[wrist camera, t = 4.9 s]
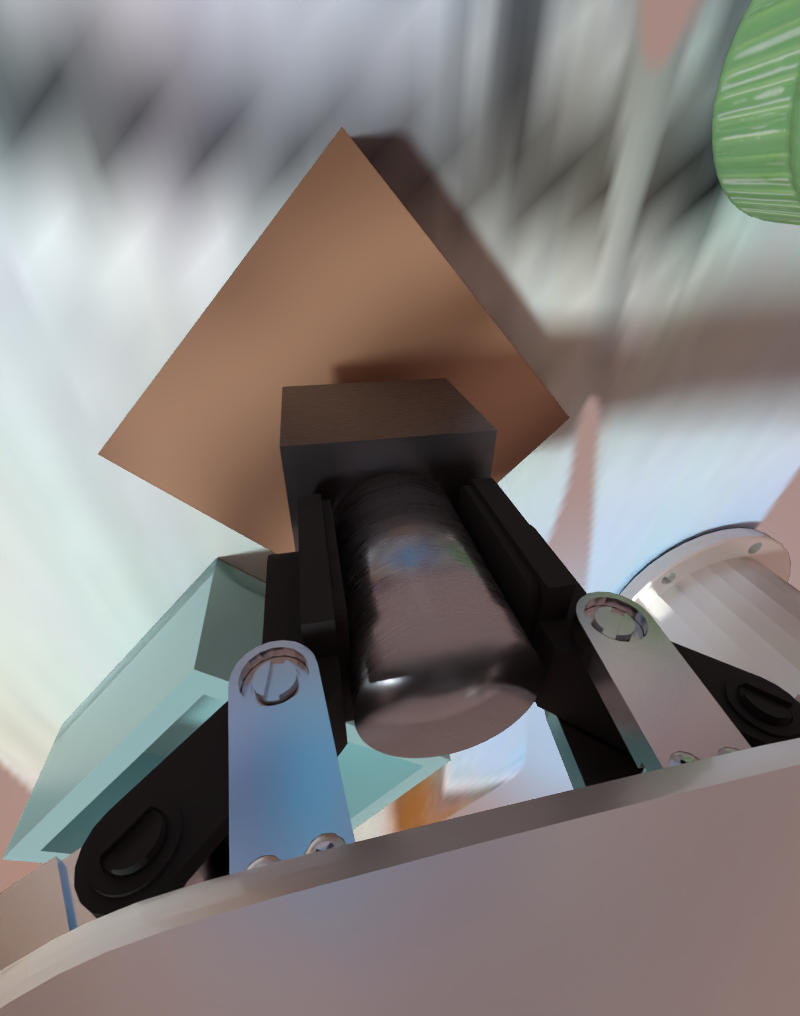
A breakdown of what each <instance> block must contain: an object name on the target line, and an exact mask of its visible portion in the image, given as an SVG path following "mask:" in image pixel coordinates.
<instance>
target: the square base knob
mask: <svg viewBox="0 0 800 1016" xmlns="http://www.w3.org/2000/svg"><path fill="white" fill-rule="evenodd" d="M496 435H497V429H496V428H495V427H494V426H493V425H492V424H491V423H490V422H489V421H488V420H487V419H486V418H485V417H484V416H483V415H482V414H481V413H480V412H479V411H478V410H477V409H476V408H475V407H474V406H473V405H472V404H471V403H470V402H469V401H468V400H467V399H466V398H465V397H464V396H463V395H462V394H461V393H460V392H459V391H458V390H457V389H456V388H455V387H454V386H453V385H452V384H451V383H450V382H449V381H448V380H447V379H446V378H437V379H418V380H399V381H381V382H362V383H343V384H324V385H305V386H287V387H282V404H281V426H280V453H281V460H282V466H283V473H284V479H285V486H286V493H287V499H288V506H289V512H290V519H291V526H292V532H293V539H294V545H295V552H297V551H299V540H298V503H297V496H304V495H315V494H321V500H326V499H331V506H332V513H333V520H334V526H335V533H336V540H337V547H338V554H339V561H340V567H341V574H342V581H343V588H344V595H345V602H346V609H347V617H348V627H349V639H350V652H351V663H350V668H349V684H350V692H351V700H352V708H353V716H354V723H355V728H356V730H357V733H358V735H359V736H360V738H361V739H362V740H363V741H364V742H365V743H366V744H367V745H368V746H370V747H371V748H373V749H375V750H376V751H379V752H381V753H384V754H387V755H391V756H395V757H402V758H428V757H437V756H442V755H447V754H451V753H455V752H459V751H462V750H465V749H468V748H470V747H473V746H476V745H478V744H480V743H482V742H484V741H487V740H489V739H490V738H492V737H494V736H496V735H498V734H499V733H501V732H502V731H504V730H505V729H507V728H508V727H509V726H511V725H512V724H513V723H515V722H516V721H517V720H518V719H519V718H520V717H521V716H522V715H523V714H524V713H525V712H526V711H527V710H528V709H529V708H530V706H531V705H532V704H533V702H534V701H535V699H536V697H537V696H538V694H539V692H540V689H541V686H542V682H543V666H542V663H541V661H540V659H539V657H538V655H537V653H536V651H535V650H534V648H533V646H532V644H531V643H530V641H529V639H528V637H527V636H526V634H525V632H524V630H523V629H522V627H521V625H520V623H519V622H518V620H517V618H516V616H515V614H514V613H513V611H512V609H511V607H510V606H509V604H508V602H507V600H506V599H505V597H504V595H503V593H502V592H501V590H500V588H499V586H498V585H497V583H496V581H495V579H494V578H493V576H492V574H491V572H490V571H489V569H488V567H487V565H486V564H485V562H484V560H483V558H482V557H481V555H480V553H479V551H478V550H477V548H476V546H475V544H474V543H473V541H472V539H471V537H470V536H469V534H468V532H467V530H466V529H465V527H464V525H463V523H462V522H461V520H460V518H459V516H458V505H459V495H460V489H461V487H462V486H466V485H467V482H468V480H470V479H479V478H491V471H492V464H493V457H494V450H495V442H496Z"/></svg>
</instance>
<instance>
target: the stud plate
mask: <svg viewBox="0 0 800 1016" xmlns="http://www.w3.org/2000/svg"><path fill="white" fill-rule="evenodd" d="M437 378H446V379H447V380H448V381H449V382H450V383H451V384H452V385H453V386H454V387H455V388H456V389H457V390H458V391H459V392H460V393H461V394H462V395H463V396H464V397H465V398H466V399H467V400H468V401H469V402H470V403H471V404H472V405H473V406H474V407H475V408H476V409H477V410H478V411H479V412H480V413H481V414H482V415H483V416H484V417H485V418H486V419H487V420H488V421H489V422H490V423H491V424H492V425H493V426H494V427H495V428H496V429H497V435H496V442H495V450H494V457H493V464H492V471H491V478H493V479H494V480H495V482H496V483H498V482H499V481H500V480H501V479H502V478H503V477H505V476H506V475H507V474H508V473H509V472H510V471H511V470H512V469H513V468H515V467H516V466H517V465H518V464H519V463H520V462H521V461H522V460H523V459H524V458H526V457H527V456H528V455H529V454H530V453H531V452H532V451H533V450H534V449H536V448H537V447H538V446H539V445H540V444H541V443H542V442H543V441H544V440H546V439H547V438H548V437H549V436H550V435H551V434H552V433H553V432H554V431H556V430H557V429H558V428H559V427H560V426H561V425H562V424H563V423H564V422H565V421H567V420H568V419H569V417H568V415H567V414H566V413H565V411H564V410H563V409H562V408H561V406H560V405H559V404H558V402H557V401H556V400H555V399H554V397H553V396H552V395H551V394H550V392H549V391H548V390H547V388H546V387H545V386H544V385H543V383H542V382H541V381H540V379H539V378H538V377H537V376H536V374H535V373H534V372H533V370H532V369H531V368H530V367H529V365H528V364H527V363H526V362H525V360H524V359H523V358H522V356H521V355H520V354H519V353H518V351H517V350H516V349H515V347H514V346H513V345H512V344H511V342H510V341H509V340H508V339H507V337H506V336H505V335H504V333H503V332H502V331H501V330H500V328H499V327H498V326H497V324H496V323H495V322H494V321H493V319H492V318H491V317H490V315H489V314H488V313H487V312H486V310H485V309H484V308H483V307H482V305H481V304H480V303H479V301H478V300H477V299H476V298H475V296H474V295H473V294H472V292H471V291H470V290H469V289H468V287H467V286H466V285H465V283H464V282H463V281H462V280H461V278H460V277H459V276H458V275H457V273H456V272H455V271H454V269H453V268H452V267H451V266H450V264H449V263H448V262H447V260H446V259H445V258H444V257H443V255H442V254H441V253H440V251H439V250H438V249H437V248H436V246H435V245H434V244H433V243H432V241H431V240H430V239H429V237H428V236H427V235H426V234H425V232H424V231H423V230H422V228H421V227H420V226H419V225H418V223H417V222H416V221H415V219H414V218H413V217H412V216H411V214H410V213H409V212H408V211H407V209H406V208H405V207H404V205H403V204H402V203H401V202H400V200H399V199H398V198H397V196H396V195H395V194H394V193H393V191H392V190H391V189H390V188H389V186H388V185H387V184H386V182H385V181H384V180H383V179H382V177H381V176H380V175H379V173H378V172H377V171H376V170H375V168H374V167H373V166H372V164H371V163H370V162H369V161H368V159H367V158H366V157H365V156H364V154H363V153H362V152H361V150H360V149H359V148H358V147H357V145H356V144H355V143H354V141H353V140H352V139H351V138H350V136H349V135H348V134H347V132H346V131H345V130H344V129H343V127H341V129H340V130H339V131H338V133H337V134H336V135H335V137H334V138H333V139H332V141H331V142H330V143H329V145H328V146H327V147H326V149H325V150H324V152H323V153H322V154H321V156H320V157H319V158H318V160H317V161H316V162H315V164H314V165H313V166H312V168H311V169H310V170H309V172H308V173H307V174H306V176H305V177H304V178H303V180H302V181H301V182H300V184H299V185H298V186H297V188H296V189H295V190H294V192H293V193H292V194H291V196H290V197H289V198H288V200H287V201H286V202H285V204H284V205H283V207H282V208H281V209H280V211H279V212H278V213H277V215H276V216H275V217H274V219H273V220H272V221H271V223H270V224H269V225H268V227H267V228H266V229H265V231H264V232H263V233H262V235H261V236H260V237H259V239H258V240H257V241H256V243H255V244H254V245H253V247H252V248H251V249H250V251H249V252H248V253H247V255H246V256H245V257H244V259H243V260H242V262H241V263H240V264H239V266H238V267H237V268H236V270H235V271H234V272H233V274H232V275H231V276H230V278H229V279H228V280H227V282H226V283H225V284H224V286H223V287H222V288H221V290H220V291H219V292H218V294H217V295H216V296H215V298H214V299H213V300H212V302H211V303H210V304H209V306H208V307H207V308H206V310H205V311H204V312H203V314H202V315H201V317H200V318H199V319H198V321H197V322H196V323H195V325H194V326H193V327H192V329H191V330H190V331H189V333H188V334H187V335H186V337H185V338H184V339H183V341H182V342H181V343H180V345H179V346H178V347H177V349H176V350H175V351H174V353H173V354H172V355H171V357H170V358H169V359H168V361H167V362H166V363H165V365H164V366H163V367H162V369H161V370H160V372H159V373H158V374H157V376H156V377H155V378H154V380H153V381H152V382H151V384H150V385H149V386H148V388H147V389H146V390H145V392H144V393H143V394H142V396H141V397H140V398H139V400H138V401H137V402H136V404H135V405H134V406H133V408H132V409H131V410H130V412H129V413H128V414H127V416H126V417H125V418H124V420H123V421H122V422H121V424H120V425H119V427H118V428H117V429H116V431H115V432H114V433H113V435H112V436H111V437H110V439H109V440H108V441H107V443H106V444H105V445H104V447H103V448H102V449H101V451H100V452H99V453H98V455H100V456H102V457H104V458H106V459H107V460H109V461H111V462H113V463H115V464H116V465H118V466H120V467H122V468H124V469H125V470H127V471H129V472H131V473H133V474H134V475H136V476H138V477H140V478H141V479H143V480H145V481H147V482H149V483H150V484H152V485H154V486H156V487H158V488H159V489H161V490H163V491H165V492H167V493H168V494H170V495H172V496H174V497H176V498H177V499H179V500H181V501H183V502H184V503H186V504H188V505H190V506H192V507H193V508H195V509H197V510H199V511H201V512H202V513H204V514H206V515H208V516H210V517H211V518H213V519H215V520H217V521H219V522H220V523H222V524H224V525H226V526H227V527H229V528H231V529H233V530H235V531H236V532H238V533H240V534H242V535H244V536H245V537H247V538H249V539H251V540H253V541H254V542H256V543H258V544H260V545H262V546H263V547H265V548H267V549H269V550H270V551H272V552H274V553H276V554H280V553H289V552H295V545H294V539H293V532H292V526H291V519H290V512H289V506H288V499H287V493H286V486H285V479H284V473H283V466H282V460H281V453H280V426H281V404H282V387H287V386H305V385H324V384H343V383H362V382H381V381H399V380H418V379H437Z"/></svg>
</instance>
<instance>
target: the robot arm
mask: <svg viewBox="0 0 800 1016" xmlns="http://www.w3.org/2000/svg"><path fill="white" fill-rule="evenodd" d="M297 503H298V540H299V551H297V552H289V553H280V554H272V555H269V556H268V561H267V576H266V592H265V607H264V622H263V637H262V645H260V646H257V647H256V648H254V649H253V650H251V651H250V652H248V653H246V654H245V655H244V656H243V657H242V658H241V659H240V660H239V661H238V663H237V664H236V665H235V667H234V669H233V671H232V673H231V675H230V679H229V685H228V701H227V702H226V703H225V704H224V705H222V706H221V707H220V708H219V709H218V710H217V711H216V712H215V713H214V714H213V715H212V716H211V717H209V718H208V719H207V720H206V721H205V722H204V723H203V724H202V725H201V726H200V727H199V728H198V729H196V730H195V731H194V732H193V733H192V734H191V735H190V736H189V737H188V738H187V739H186V740H185V741H183V742H182V743H181V744H180V745H179V746H178V747H177V748H176V749H175V750H174V751H173V752H172V753H170V754H169V755H168V756H167V757H166V758H165V759H164V760H163V761H162V762H161V763H160V764H159V765H157V766H156V767H155V768H154V769H153V770H152V771H151V772H150V773H149V774H148V775H147V776H145V777H144V778H143V779H142V780H141V781H140V782H139V783H138V784H137V785H136V786H135V787H134V788H132V789H131V790H130V791H129V792H128V793H127V794H126V795H125V796H124V797H123V798H122V799H121V800H119V801H118V802H117V803H116V804H115V805H114V806H113V807H112V808H111V809H110V810H109V811H108V812H107V813H106V814H105V815H104V816H103V817H102V818H101V820H100V821H99V822H98V823H97V824H96V825H95V826H94V827H93V829H92V831H91V832H90V834H89V836H88V837H87V839H86V841H85V842H84V844H83V846H82V847H81V848H79V849H78V850H76V851H75V852H73V853H72V854H70V855H69V856H67V857H66V858H65V859H63V860H62V861H61V860H60V859H59V858H58V857H57V856H55V857H53V858H52V859H50V860H49V861H47V862H46V863H44V864H43V865H41V866H40V867H38V868H37V869H35V870H34V871H32V872H31V873H29V874H28V875H26V876H25V877H23V878H22V879H20V880H19V881H17V882H16V883H14V884H13V885H11V886H10V887H8V888H7V889H5V890H4V891H2V892H1V893H0V1016H800V591H799V590H797V589H796V588H794V587H793V586H792V585H790V584H789V583H788V580H789V577H790V567H791V561H790V558H789V554H788V551H787V550H786V549H785V548H784V546H783V545H782V544H781V543H779V542H778V541H776V540H775V539H773V538H772V537H770V536H769V535H767V534H765V533H763V532H760V531H757V530H755V529H746V528H735V529H726V530H720V531H716V532H713V533H709V534H705V535H702V536H700V537H697V538H695V539H693V540H690V541H688V542H685V543H683V544H681V545H680V546H678V547H676V548H674V549H673V550H671V551H669V552H667V553H665V554H664V555H663V556H661V557H660V558H658V559H657V560H656V561H654V562H653V563H651V564H650V565H648V566H647V567H646V568H645V569H644V570H643V571H642V572H641V573H639V574H638V575H637V576H636V577H635V578H634V579H633V580H632V581H631V582H630V583H629V584H628V585H627V587H626V588H625V589H624V590H623V591H622V592H621V593H620V595H618V594H614V593H610V592H594V593H588V594H587V593H586V592H585V591H584V589H583V588H582V587H581V586H580V584H579V583H578V582H577V581H576V579H575V578H574V577H573V576H572V574H571V573H570V572H569V571H568V569H567V568H566V567H565V566H564V564H563V563H562V562H561V560H560V559H559V558H558V557H557V556H556V554H555V553H554V552H553V551H552V549H551V548H550V547H549V545H548V544H547V543H546V542H545V540H544V539H543V538H542V537H541V535H540V534H539V533H538V532H537V530H536V529H535V528H534V527H533V526H532V525H529V524H528V522H527V521H526V520H525V518H524V517H523V516H522V515H521V513H520V512H519V511H518V510H517V508H516V507H515V506H514V504H513V503H512V502H511V501H510V499H509V498H508V497H507V496H506V494H505V493H504V492H503V490H502V489H501V488H500V487H499V485H498V484H497V483H496V482H495V480H494V479H493V478H479V479H470V480H468V482H467V485H466V486H462V487H461V489H460V495H459V505H458V516H459V518H460V520H461V522H462V523H463V525H464V527H465V529H466V530H467V532H468V534H469V536H470V537H471V539H472V541H473V543H474V544H475V546H476V548H477V550H478V551H479V553H480V555H481V557H482V558H483V560H484V562H485V564H486V565H487V567H488V569H489V571H490V572H491V574H492V576H493V578H494V579H495V581H496V583H497V585H498V586H499V588H500V590H501V592H502V593H503V595H504V597H505V599H506V600H507V602H508V604H509V606H510V607H511V609H512V611H513V613H514V614H515V616H516V618H517V620H518V622H519V623H520V625H521V627H522V629H523V630H524V632H525V634H526V636H527V637H528V639H529V641H530V643H531V644H532V646H533V648H534V650H535V651H536V653H537V655H538V657H539V659H540V661H541V663H542V666H543V682H542V686H541V689H540V692H539V694H538V696H537V697H536V699H535V701H534V702H536V704H537V706H538V707H540V708H542V709H544V710H545V715H546V719H547V722H548V724H549V727H550V729H551V732H552V735H553V737H554V740H555V742H556V745H557V748H558V750H559V753H560V755H561V758H562V760H563V763H564V765H565V768H566V771H567V773H568V776H569V778H570V781H571V783H572V786H573V788H574V790H570V791H566V792H562V793H557V794H553V795H549V796H545V797H541V798H537V799H532V800H528V801H524V802H520V803H516V804H511V805H507V806H503V807H499V808H495V809H491V810H486V811H482V812H478V813H474V814H470V815H466V816H462V817H457V818H453V819H449V820H445V821H441V822H437V823H433V824H429V825H424V826H420V827H416V828H412V829H408V830H404V831H400V832H396V833H392V834H388V835H383V836H379V837H375V838H371V839H367V840H363V841H359V842H355V839H354V834H353V830H352V825H351V820H350V815H349V811H348V806H347V801H346V796H345V791H344V787H343V782H342V777H341V772H340V768H339V763H338V758H337V757H338V756H339V755H340V753H341V752H342V751H343V749H344V748H345V747H346V745H347V744H348V742H347V732H346V722H348V721H354V716H353V708H352V700H351V692H350V684H349V668H350V663H351V652H350V639H349V627H348V617H347V609H346V602H345V595H344V588H343V581H342V574H341V567H340V561H339V554H338V547H337V540H336V533H335V526H334V520H333V513H332V506H331V499H326V500H321V494H315V495H304V496H297Z"/></svg>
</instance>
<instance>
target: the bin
mask: <svg viewBox="0 0 800 1016" xmlns="http://www.w3.org/2000/svg"><path fill="white" fill-rule="evenodd" d="M265 592H266V583H264V582H262V581H260V580H258V579H256V578H255V577H253V576H251V575H249V574H247V573H245V572H243V571H241V570H239V569H237V568H235V567H233V566H231V565H229V564H227V563H225V562H223V561H221V560H219V559H217V558H216V559H215V561H214V562H213V563H212V564H211V565H210V566H209V567H208V568H207V569H206V570H205V571H204V572H203V573H202V575H201V576H200V577H199V578H198V579H197V580H196V581H195V582H194V583H193V584H192V585H191V586H190V588H189V589H188V590H187V591H186V592H185V593H184V594H183V595H182V596H181V597H180V598H179V599H178V600H177V602H176V603H175V604H174V605H173V606H172V607H171V608H170V609H169V610H168V611H167V612H166V613H165V615H164V616H163V617H162V618H161V619H160V620H159V621H158V622H157V623H156V624H155V625H154V626H153V627H152V629H151V630H150V631H149V632H148V633H147V634H146V635H145V636H144V637H143V638H142V639H141V640H140V642H139V643H138V644H137V645H136V646H135V647H134V648H133V649H132V650H131V651H130V652H129V653H128V654H127V656H126V657H125V658H124V659H123V660H122V661H121V662H120V663H119V664H118V665H117V666H116V667H115V669H114V670H113V671H112V672H111V673H110V674H109V675H108V676H107V677H106V678H105V679H104V680H103V681H102V683H101V684H100V685H99V686H98V687H97V688H96V689H95V690H94V691H93V692H92V693H91V694H90V696H89V697H88V698H87V699H86V700H85V701H84V702H83V703H82V704H81V705H80V706H79V707H78V708H77V710H76V711H75V712H74V713H73V714H72V715H71V716H70V717H69V718H68V719H67V720H66V721H65V722H64V724H63V725H62V726H61V728H60V730H59V733H58V735H57V737H56V739H55V742H54V744H53V746H52V748H51V751H50V753H49V755H48V757H47V760H46V762H45V764H44V767H43V769H42V771H41V773H40V776H39V778H38V780H37V782H36V785H35V787H34V789H33V791H32V794H31V796H30V798H29V800H28V803H27V805H26V807H25V809H24V812H23V814H22V816H21V819H20V821H19V823H18V825H17V828H16V830H15V832H14V834H13V837H12V839H11V841H10V843H9V846H8V848H7V850H6V852H5V855H4V857H3V859H6V860H17V861H28V862H40V863H46V862H47V861H49V860H50V859H52V858H53V857H55V856H57V857H58V858H59V859H60V860H61V861H62V860H63V859H65V858H66V857H67V856H69V855H70V854H72V853H73V852H75V851H76V850H78V849H79V848H81V847H82V846H83V844H84V842H85V841H86V839H87V837H88V836H89V834H90V832H91V831H92V829H93V827H94V826H95V825H96V824H97V823H98V822H99V821H100V820H101V818H102V817H103V816H104V815H105V814H106V813H107V812H108V811H109V810H110V809H111V808H112V807H113V806H114V805H115V804H116V803H117V802H118V801H119V800H121V799H122V798H123V797H124V796H125V795H126V794H127V793H128V792H129V791H130V790H131V789H132V788H134V787H135V786H136V785H137V784H138V783H139V782H140V781H141V780H142V779H143V778H144V777H145V776H147V775H148V774H149V773H150V772H151V771H152V770H153V769H154V768H155V767H156V766H157V765H159V764H160V763H161V762H162V761H163V760H164V759H165V758H166V757H167V756H168V755H169V754H170V753H172V752H173V751H174V750H175V749H176V748H177V747H178V746H179V745H180V744H181V743H182V742H183V741H185V740H186V739H187V738H188V737H189V736H190V735H191V734H192V733H193V732H194V731H195V730H196V729H198V728H199V727H200V726H201V725H202V724H203V723H204V722H205V721H206V720H207V719H208V718H209V717H211V716H212V715H213V714H214V713H215V712H216V711H217V710H218V709H219V708H220V707H221V706H222V705H224V704H225V703H226V702H227V701H228V685H229V679H230V675H231V673H232V671H233V669H234V667H235V665H236V664H237V663H238V661H239V660H240V659H241V658H242V657H243V656H244V655H245V654H246V653H248V652H250V651H251V650H253V649H254V648H256V647H257V646H260V645H262V637H263V622H264V607H265ZM346 732H347V742H348V744H347V745H346V747H345V748H344V749H343V751H342V752H341V753H340V755H339V756H338V757H337V758H338V763H339V768H340V772H341V777H342V782H343V787H344V791H345V796H346V801H347V806H348V811H349V815H350V820H351V825H352V830H354V829H355V828H357V827H358V826H359V825H361V824H362V823H364V822H365V821H366V820H368V819H369V818H371V817H372V816H373V815H375V814H376V813H378V812H379V811H380V810H382V809H383V808H385V807H386V806H387V805H389V804H390V803H392V802H393V801H394V800H396V799H397V798H399V797H400V796H401V795H403V794H404V793H406V792H407V791H408V790H410V789H411V788H413V787H414V786H415V785H417V784H418V783H420V782H421V781H422V780H424V779H425V778H427V777H428V776H429V775H431V774H432V773H434V772H435V771H436V770H438V769H439V768H441V767H442V766H443V765H445V764H446V763H448V762H449V761H450V760H451V759H450V756H449V754H447V755H442V756H437V757H428V758H402V757H395V756H391V755H387V754H384V753H381V752H379V751H376V750H375V749H373V748H371V747H370V746H368V745H367V744H366V743H365V742H364V741H363V740H362V739H361V738H360V736H359V735H358V733H357V730H356V728H355V723H354V721H348V722H346Z"/></svg>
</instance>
